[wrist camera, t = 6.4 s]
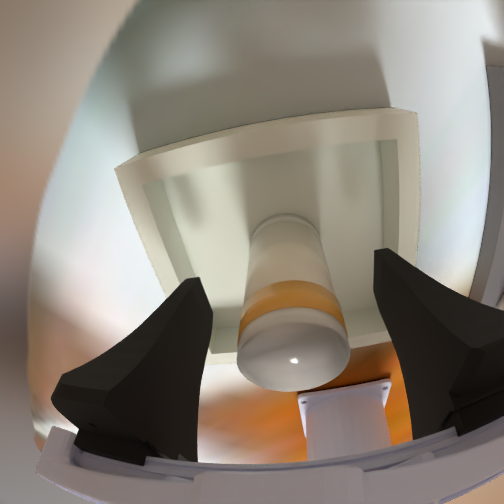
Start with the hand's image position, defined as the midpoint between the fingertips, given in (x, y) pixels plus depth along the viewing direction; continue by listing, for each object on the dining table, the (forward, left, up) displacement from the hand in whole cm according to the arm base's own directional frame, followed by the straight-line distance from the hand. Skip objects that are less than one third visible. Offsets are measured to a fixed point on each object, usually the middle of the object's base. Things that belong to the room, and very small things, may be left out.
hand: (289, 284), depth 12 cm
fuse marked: (0, 0, -3) cm, 3 cm away
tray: (0, 0, -4) cm, 4 cm away
